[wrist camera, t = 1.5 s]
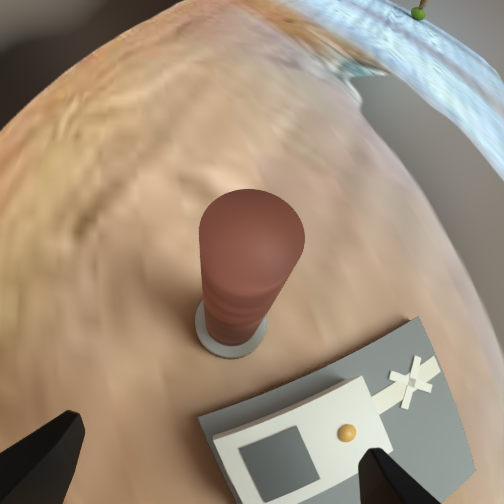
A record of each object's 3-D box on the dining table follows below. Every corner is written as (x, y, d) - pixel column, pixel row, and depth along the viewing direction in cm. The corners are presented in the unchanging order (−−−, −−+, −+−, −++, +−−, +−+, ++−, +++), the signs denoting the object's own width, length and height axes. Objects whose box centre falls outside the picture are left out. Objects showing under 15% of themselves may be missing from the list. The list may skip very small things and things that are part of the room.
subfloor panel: (285, 584, 13) (289, 591, 12) (198, 416, 19) (197, 417, 18) (467, 470, 18) (477, 470, 17) (411, 320, 24) (419, 315, 23)
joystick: (209, 368, 21) (206, 325, 9) (187, 305, 23) (162, 193, 11) (274, 345, 22) (348, 273, 10) (249, 285, 24) (287, 163, 12)
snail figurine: (411, 18, 74) (421, -7, 64) (407, 14, 77) (417, -10, 67) (424, 25, 74) (435, 0, 64) (420, 20, 77) (430, -4, 67)
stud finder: (247, 508, 15) (252, 521, 13) (213, 435, 18) (213, 440, 15) (375, 447, 18) (394, 450, 16) (346, 378, 20) (362, 375, 18)
